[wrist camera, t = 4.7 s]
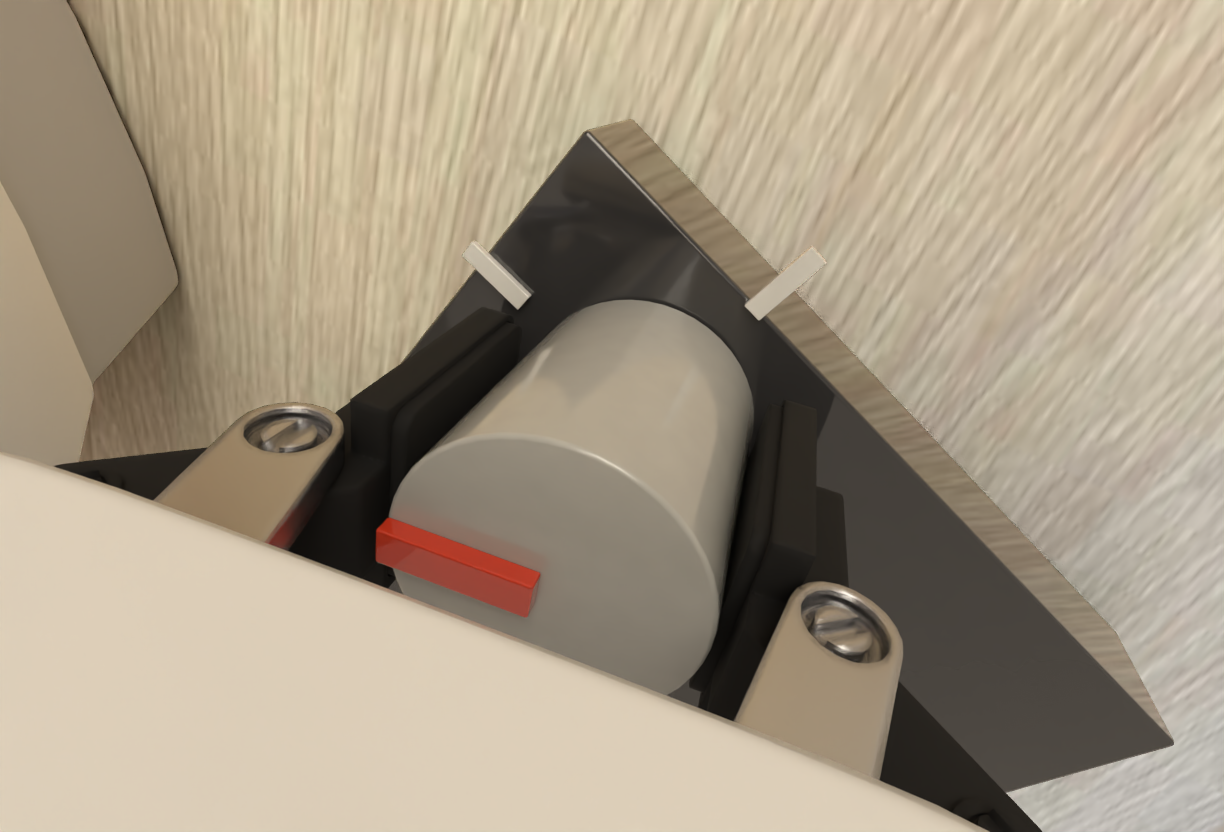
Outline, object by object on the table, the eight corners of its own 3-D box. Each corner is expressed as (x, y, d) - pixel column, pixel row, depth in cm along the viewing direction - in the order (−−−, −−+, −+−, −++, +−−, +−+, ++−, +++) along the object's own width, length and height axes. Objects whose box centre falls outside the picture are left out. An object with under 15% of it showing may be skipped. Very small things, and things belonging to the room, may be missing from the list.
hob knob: (789, 340, 11) (769, 530, 6) (715, 534, 13) (662, 776, 9) (547, 268, 12) (372, 395, 7) (516, 465, 14) (369, 657, 9)
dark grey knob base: (1177, 609, 14) (1260, 732, 12) (712, 786, 22) (697, 886, 19) (666, 48, 12) (622, 42, 9) (337, 456, 19) (260, 518, 17)
